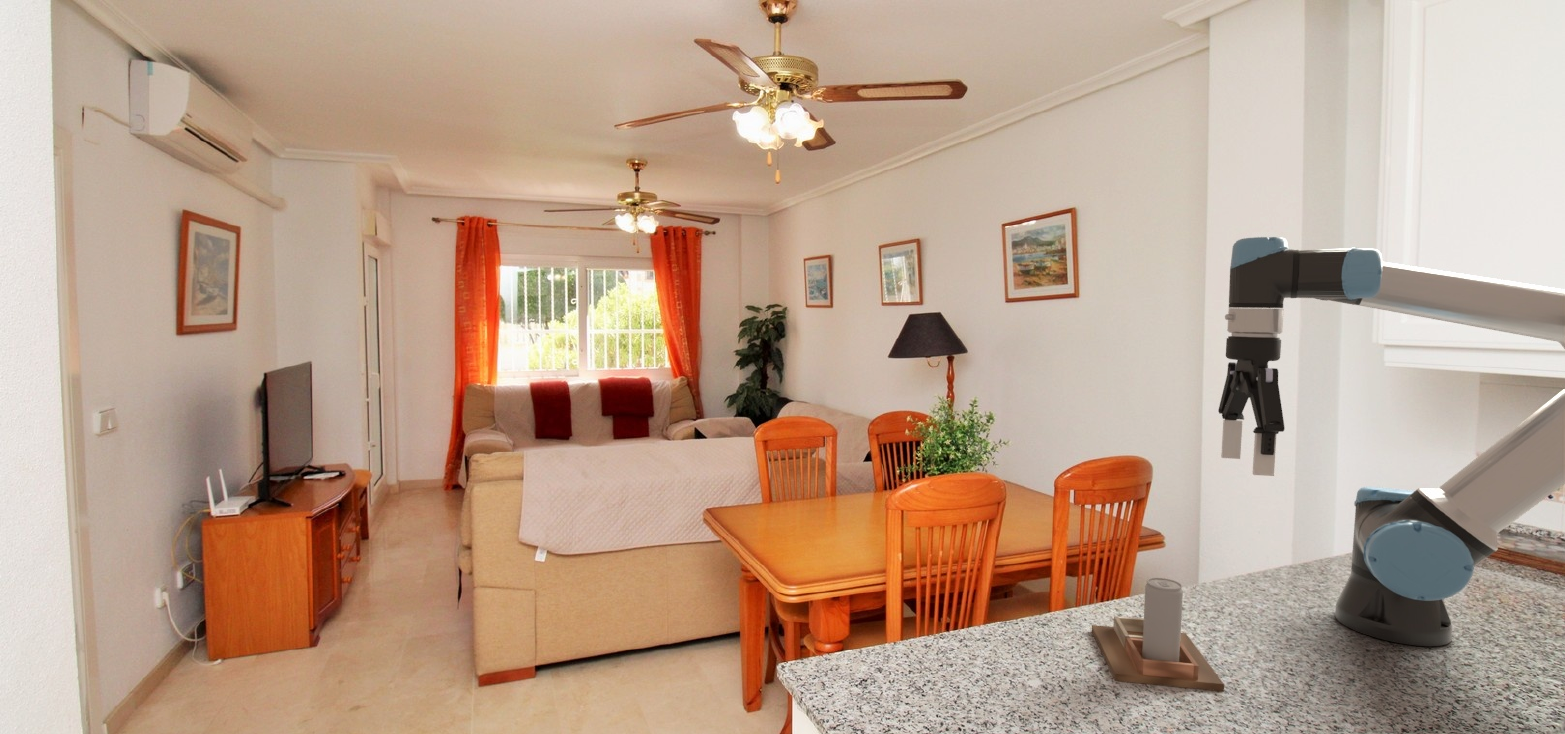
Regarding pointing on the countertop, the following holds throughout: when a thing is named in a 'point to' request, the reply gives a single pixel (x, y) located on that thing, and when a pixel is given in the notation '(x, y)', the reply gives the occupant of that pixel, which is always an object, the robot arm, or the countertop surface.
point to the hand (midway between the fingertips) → (1246, 466)
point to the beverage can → (1162, 620)
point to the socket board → (1129, 666)
